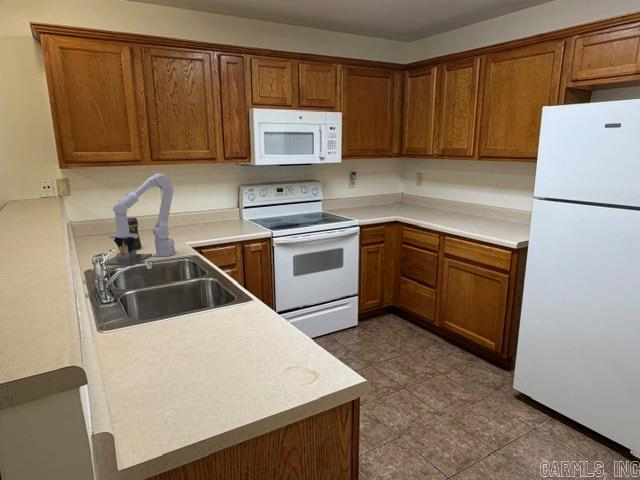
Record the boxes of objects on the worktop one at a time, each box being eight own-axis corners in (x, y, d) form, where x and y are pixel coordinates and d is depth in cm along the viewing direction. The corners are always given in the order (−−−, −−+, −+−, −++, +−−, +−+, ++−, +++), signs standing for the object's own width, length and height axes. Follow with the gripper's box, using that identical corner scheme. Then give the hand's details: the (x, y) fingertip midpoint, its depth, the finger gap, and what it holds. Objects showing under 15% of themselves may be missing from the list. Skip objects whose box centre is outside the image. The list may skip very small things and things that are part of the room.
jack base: (152, 255, 224) (151, 248, 223) (134, 265, 206) (132, 257, 205) (121, 256, 226) (120, 248, 225) (100, 265, 208) (99, 257, 207)
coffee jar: (141, 246, 246) (137, 216, 242) (141, 249, 239) (137, 218, 234) (124, 248, 242) (119, 217, 238) (123, 251, 235) (118, 219, 231)
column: (132, 256, 217) (131, 244, 216) (128, 258, 213) (126, 246, 212) (125, 256, 218) (123, 244, 216) (121, 258, 214) (119, 246, 212)
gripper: (104, 227, 209) (108, 253, 212) (131, 227, 207) (134, 253, 210) (112, 225, 216) (116, 250, 219) (138, 224, 214) (142, 250, 217)
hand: (126, 251), depth 215 cm, fingers closed on column, 4 cm apart
